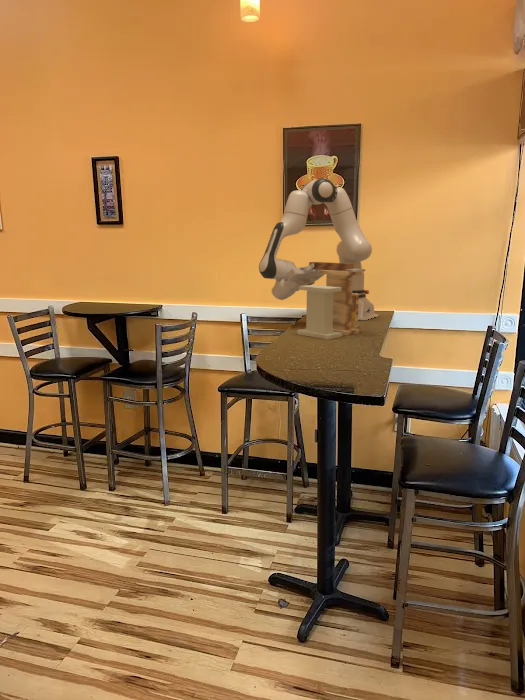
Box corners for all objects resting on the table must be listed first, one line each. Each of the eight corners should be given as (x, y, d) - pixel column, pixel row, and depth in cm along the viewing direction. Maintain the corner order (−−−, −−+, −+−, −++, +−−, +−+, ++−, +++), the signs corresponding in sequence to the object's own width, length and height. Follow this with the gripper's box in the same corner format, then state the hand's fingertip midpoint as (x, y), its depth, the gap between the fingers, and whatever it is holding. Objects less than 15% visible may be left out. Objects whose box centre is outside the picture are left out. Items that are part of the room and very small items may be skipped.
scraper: (306, 269, 232) (306, 262, 232) (316, 268, 236) (316, 261, 235) (355, 272, 212) (356, 264, 212) (365, 271, 216) (365, 263, 216)
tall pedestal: (329, 327, 237) (331, 269, 232) (360, 332, 225) (362, 270, 219) (316, 330, 231) (317, 270, 226) (346, 335, 219) (348, 271, 213)
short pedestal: (311, 331, 229) (312, 284, 225) (342, 336, 217) (343, 287, 213) (296, 333, 223) (297, 286, 219) (327, 339, 211) (328, 289, 207)
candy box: (358, 327, 238) (359, 293, 235) (355, 329, 234) (356, 294, 231) (339, 326, 242) (340, 292, 239) (336, 327, 238) (337, 293, 235)
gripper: (279, 274, 235) (298, 258, 225) (310, 271, 248) (330, 257, 238) (284, 286, 234) (303, 272, 224) (315, 284, 247) (335, 270, 237)
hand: (317, 264), depth 231 cm, fingers closed on scraper, 3 cm apart
